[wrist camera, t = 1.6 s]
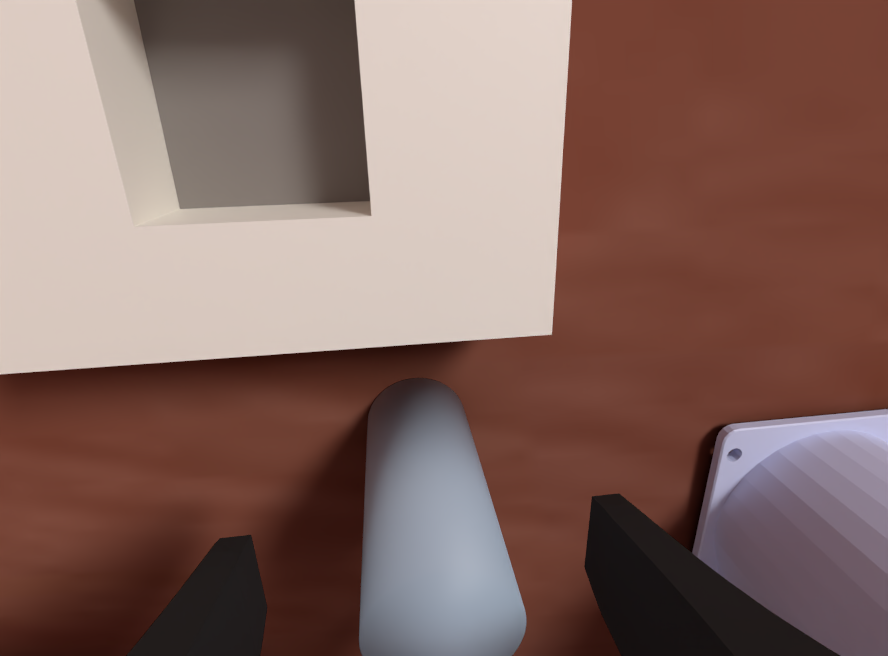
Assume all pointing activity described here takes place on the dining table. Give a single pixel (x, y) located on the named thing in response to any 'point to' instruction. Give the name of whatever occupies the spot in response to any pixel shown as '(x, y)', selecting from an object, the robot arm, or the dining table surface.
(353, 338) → the bore block
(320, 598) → the dining table surface
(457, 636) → the dowel
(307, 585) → the dining table surface
